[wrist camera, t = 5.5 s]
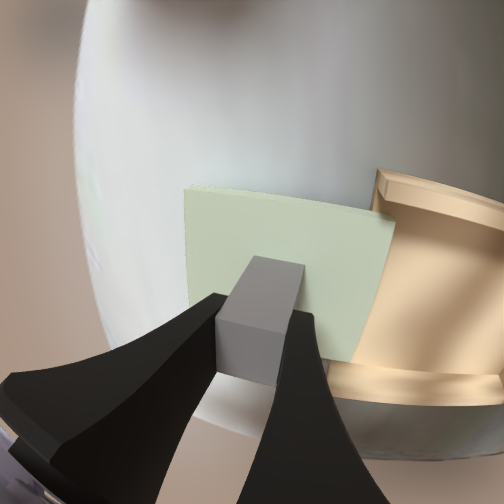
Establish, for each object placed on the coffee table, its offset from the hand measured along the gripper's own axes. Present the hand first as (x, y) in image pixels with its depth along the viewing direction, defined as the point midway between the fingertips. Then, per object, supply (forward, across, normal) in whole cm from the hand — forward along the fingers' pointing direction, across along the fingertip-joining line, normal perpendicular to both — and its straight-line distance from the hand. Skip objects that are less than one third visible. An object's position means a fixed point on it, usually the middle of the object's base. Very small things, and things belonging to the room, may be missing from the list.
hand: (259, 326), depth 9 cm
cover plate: (+3, 0, 0) cm, 3 cm away
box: (+4, -9, 0) cm, 10 cm away
